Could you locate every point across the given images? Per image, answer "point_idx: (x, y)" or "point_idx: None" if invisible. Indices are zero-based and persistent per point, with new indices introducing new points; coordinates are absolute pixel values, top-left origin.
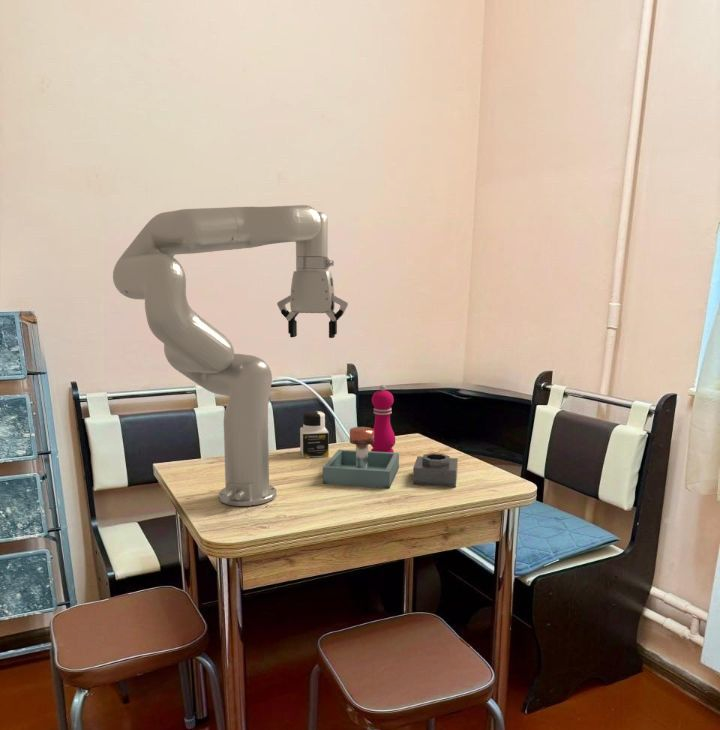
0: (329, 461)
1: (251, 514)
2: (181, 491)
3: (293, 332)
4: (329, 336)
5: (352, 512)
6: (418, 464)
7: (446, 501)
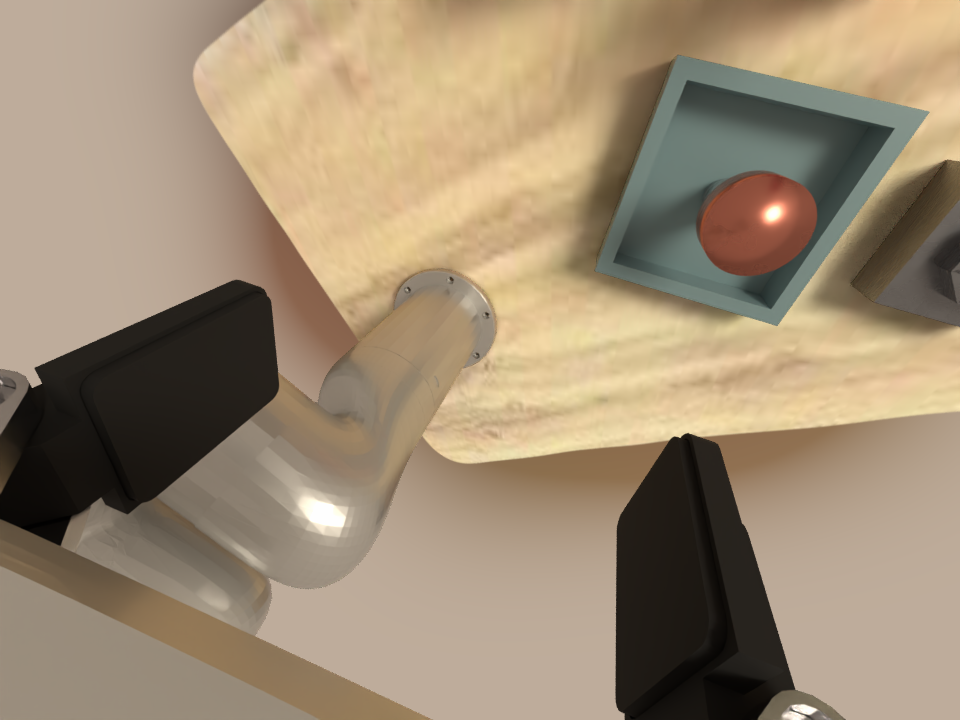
0: (619, 217)
1: (468, 392)
2: (325, 277)
3: (247, 405)
4: (623, 532)
5: (636, 414)
6: (916, 270)
7: (870, 400)
